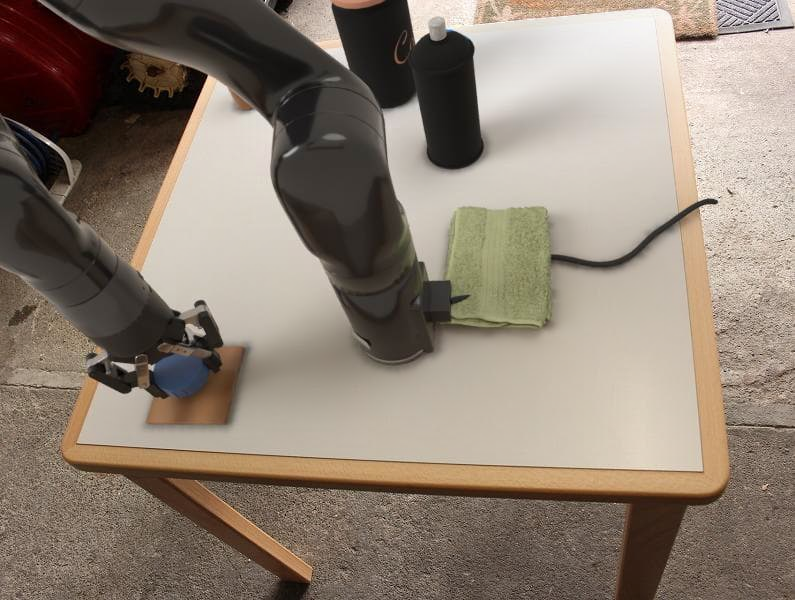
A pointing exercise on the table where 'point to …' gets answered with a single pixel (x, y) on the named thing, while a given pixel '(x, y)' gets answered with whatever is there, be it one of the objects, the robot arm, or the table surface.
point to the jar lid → (180, 375)
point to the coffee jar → (378, 46)
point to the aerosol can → (447, 95)
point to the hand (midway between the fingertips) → (191, 378)
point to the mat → (203, 396)
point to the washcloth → (500, 267)
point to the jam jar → (240, 101)
